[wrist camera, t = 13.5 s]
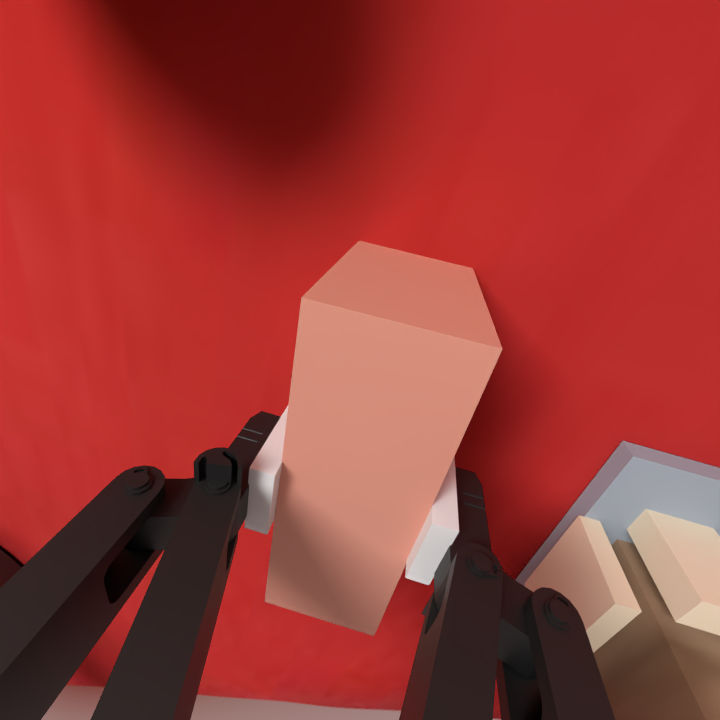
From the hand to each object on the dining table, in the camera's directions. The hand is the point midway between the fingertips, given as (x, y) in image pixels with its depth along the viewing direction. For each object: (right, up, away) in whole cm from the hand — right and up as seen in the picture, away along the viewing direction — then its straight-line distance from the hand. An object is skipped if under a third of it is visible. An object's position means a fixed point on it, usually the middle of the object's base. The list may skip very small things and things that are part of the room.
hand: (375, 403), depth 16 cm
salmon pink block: (0, +1, +1) cm, 1 cm away
